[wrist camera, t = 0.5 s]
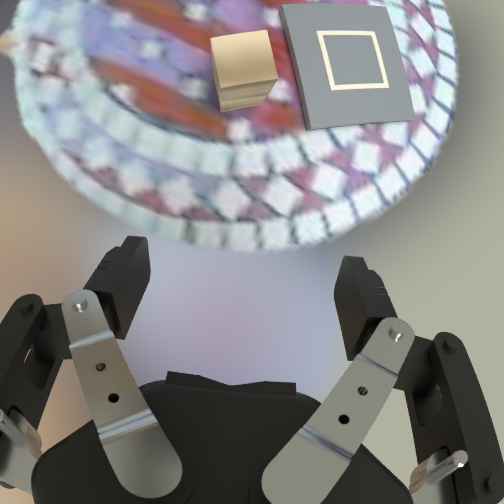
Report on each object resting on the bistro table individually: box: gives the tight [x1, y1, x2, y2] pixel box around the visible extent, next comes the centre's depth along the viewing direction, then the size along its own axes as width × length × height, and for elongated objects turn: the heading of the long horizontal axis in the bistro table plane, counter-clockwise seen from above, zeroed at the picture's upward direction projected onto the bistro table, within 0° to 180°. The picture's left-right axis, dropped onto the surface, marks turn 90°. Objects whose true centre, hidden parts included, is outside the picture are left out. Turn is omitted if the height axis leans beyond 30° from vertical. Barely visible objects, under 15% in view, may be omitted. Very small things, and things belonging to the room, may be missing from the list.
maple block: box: [210, 30, 278, 112], centre depth 27 cm, size 4×4×12 cm
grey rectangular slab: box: [279, 3, 415, 130], centre depth 32 cm, size 16×14×2 cm
